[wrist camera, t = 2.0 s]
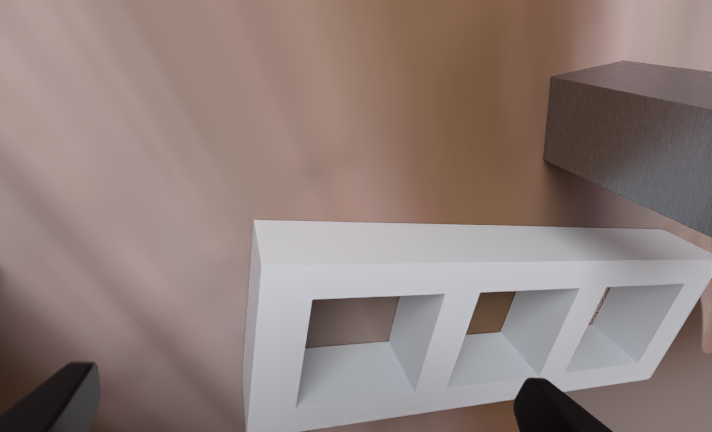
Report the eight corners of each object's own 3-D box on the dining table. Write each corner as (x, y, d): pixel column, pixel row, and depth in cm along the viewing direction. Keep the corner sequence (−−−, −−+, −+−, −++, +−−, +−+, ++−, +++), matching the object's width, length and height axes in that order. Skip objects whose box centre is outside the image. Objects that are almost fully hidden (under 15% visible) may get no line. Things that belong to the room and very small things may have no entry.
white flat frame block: (242, 376, 23) (246, 439, 20) (253, 219, 19) (261, 265, 16) (604, 340, 33) (649, 378, 29) (662, 229, 29) (723, 259, 25)
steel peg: (543, 159, 23) (807, 281, 13) (551, 76, 21) (877, 143, 10) (609, 141, 24) (907, 243, 13) (624, 60, 22) (992, 107, 11)
